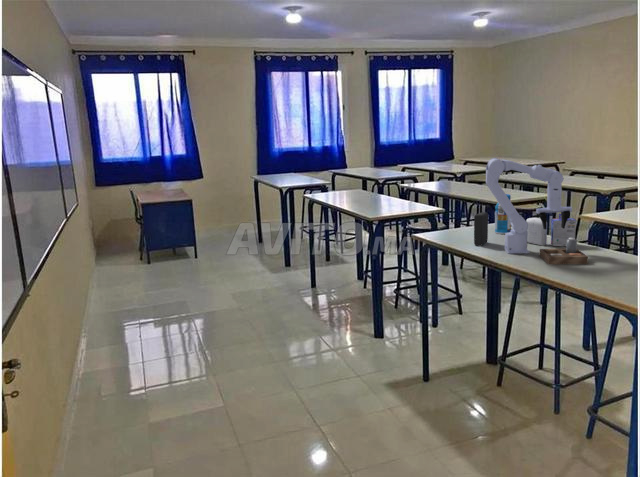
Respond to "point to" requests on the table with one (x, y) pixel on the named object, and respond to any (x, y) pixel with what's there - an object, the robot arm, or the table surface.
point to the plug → (571, 245)
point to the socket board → (563, 256)
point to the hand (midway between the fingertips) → (553, 228)
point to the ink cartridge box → (562, 231)
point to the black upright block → (481, 228)
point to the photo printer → (536, 231)
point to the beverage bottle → (502, 219)
